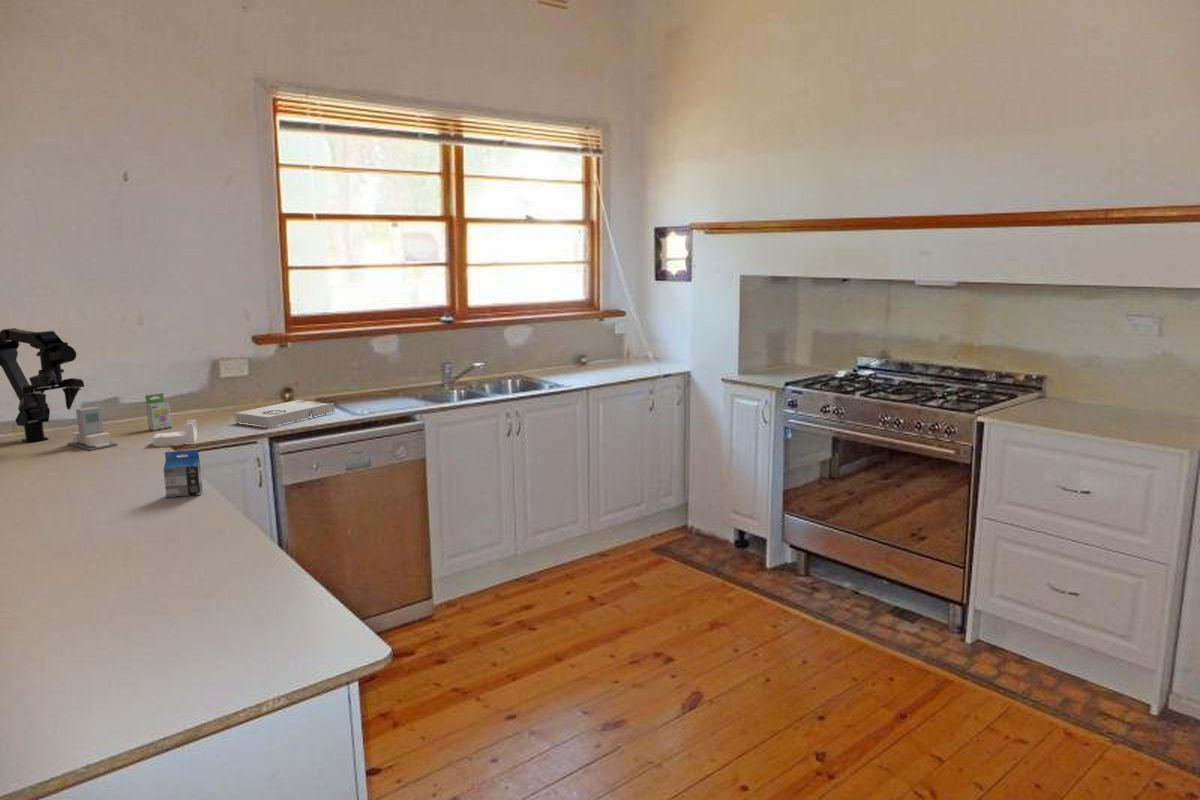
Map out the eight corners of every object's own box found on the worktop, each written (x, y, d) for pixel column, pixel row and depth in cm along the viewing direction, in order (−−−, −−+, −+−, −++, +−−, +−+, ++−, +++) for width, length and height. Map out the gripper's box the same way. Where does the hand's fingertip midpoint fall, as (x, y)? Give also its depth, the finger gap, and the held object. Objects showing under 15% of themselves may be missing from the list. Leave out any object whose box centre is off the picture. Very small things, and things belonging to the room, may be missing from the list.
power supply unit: (334, 414, 347) (334, 402, 346) (268, 430, 318) (267, 417, 318) (303, 410, 356) (302, 399, 355) (236, 425, 328) (235, 412, 327)
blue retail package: (165, 498, 230) (161, 455, 228) (169, 494, 234) (164, 451, 232) (200, 495, 232) (196, 452, 230) (203, 491, 236) (198, 449, 234)
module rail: (67, 444, 295) (66, 432, 295) (94, 439, 303) (93, 427, 302) (90, 450, 286) (88, 438, 285) (117, 445, 293) (116, 433, 292)
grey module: (80, 442, 293) (75, 409, 291) (98, 439, 298) (94, 406, 295) (86, 444, 290) (82, 410, 288) (104, 441, 295) (100, 407, 293)
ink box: (153, 431, 315) (149, 396, 313) (148, 430, 318) (144, 395, 315) (172, 428, 321) (168, 393, 318) (167, 426, 323) (163, 392, 321)
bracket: (197, 440, 301) (195, 419, 300) (194, 444, 294) (192, 423, 293) (157, 443, 297) (155, 422, 296) (153, 447, 290) (151, 426, 289)
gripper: (7, 369, 284) (12, 414, 283) (60, 360, 283) (65, 406, 282) (31, 371, 295) (36, 415, 294) (82, 363, 294) (87, 407, 293)
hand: (56, 411), depth 290 cm, fingers open, 9 cm apart
